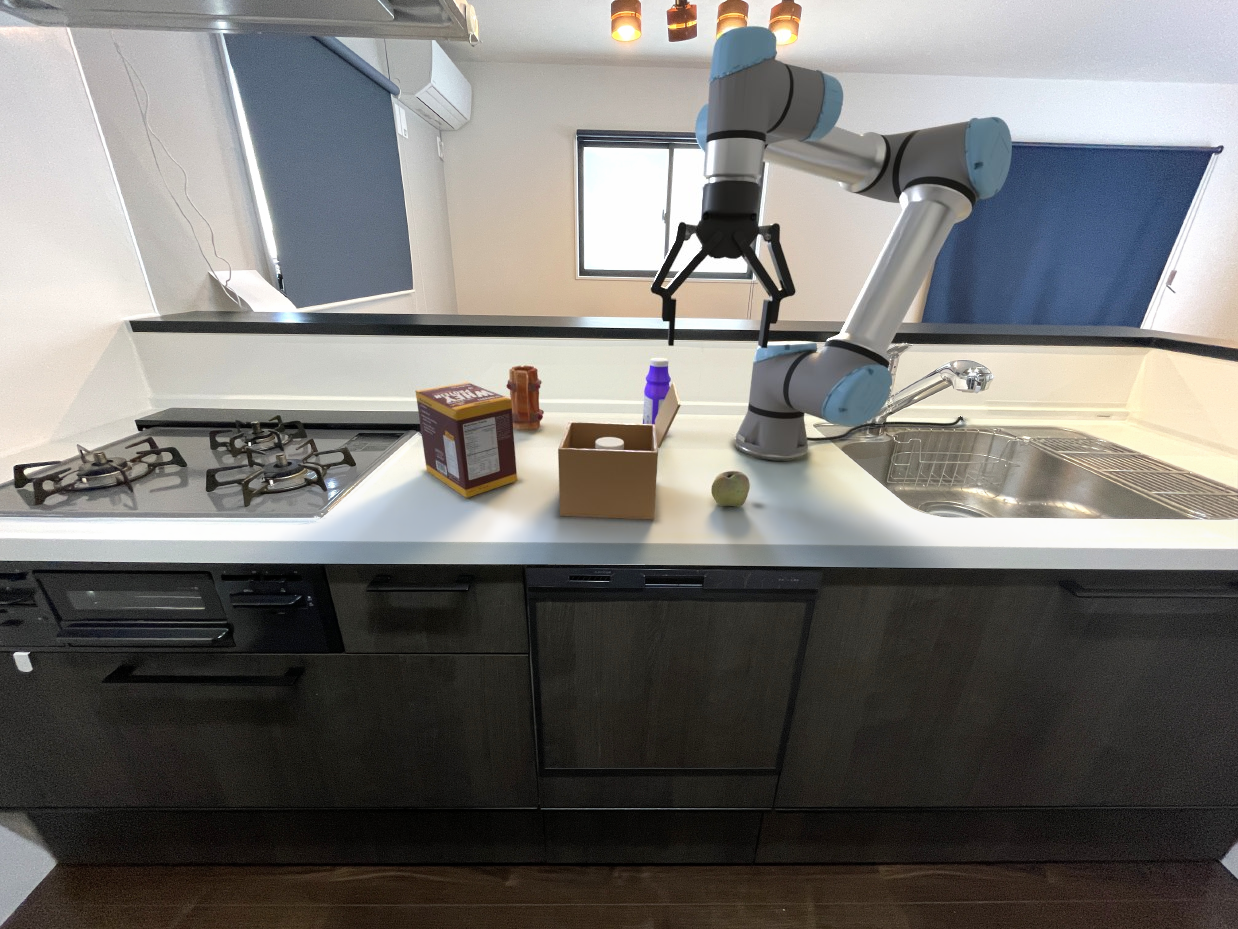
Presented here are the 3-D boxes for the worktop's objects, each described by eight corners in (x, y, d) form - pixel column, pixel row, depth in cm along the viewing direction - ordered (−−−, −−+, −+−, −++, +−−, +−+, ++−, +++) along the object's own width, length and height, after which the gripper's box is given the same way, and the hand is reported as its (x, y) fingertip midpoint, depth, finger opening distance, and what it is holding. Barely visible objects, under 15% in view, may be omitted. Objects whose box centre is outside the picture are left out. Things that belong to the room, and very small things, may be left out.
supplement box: (475, 457, 99) (467, 381, 93) (518, 481, 90) (512, 398, 83) (425, 470, 93) (413, 390, 87) (466, 499, 83) (456, 409, 77)
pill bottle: (621, 505, 81) (623, 449, 77) (588, 501, 82) (588, 446, 78) (628, 490, 86) (630, 437, 82) (596, 487, 87) (597, 434, 83)
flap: (654, 420, 85) (656, 421, 85) (657, 447, 73) (659, 448, 73) (672, 381, 82) (674, 382, 82) (678, 403, 70) (680, 404, 70)
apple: (762, 510, 82) (767, 477, 80) (717, 514, 80) (721, 481, 78) (745, 493, 87) (750, 463, 85) (703, 497, 85) (706, 466, 83)
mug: (510, 421, 120) (506, 360, 114) (544, 421, 121) (542, 360, 115) (504, 443, 107) (499, 375, 101) (542, 442, 108) (540, 375, 102)
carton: (651, 484, 90) (655, 424, 85) (653, 519, 78) (658, 452, 73) (570, 481, 90) (569, 421, 86) (559, 516, 78) (558, 448, 74)
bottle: (671, 438, 113) (677, 362, 106) (647, 439, 111) (651, 362, 104) (661, 427, 119) (666, 355, 112) (639, 429, 118) (642, 356, 111)
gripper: (818, 186, 68) (794, 342, 76) (637, 184, 69) (633, 339, 77) (837, 179, 61) (808, 352, 69) (636, 177, 62) (632, 347, 71)
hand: (716, 345), depth 73 cm, fingers open, 13 cm apart
